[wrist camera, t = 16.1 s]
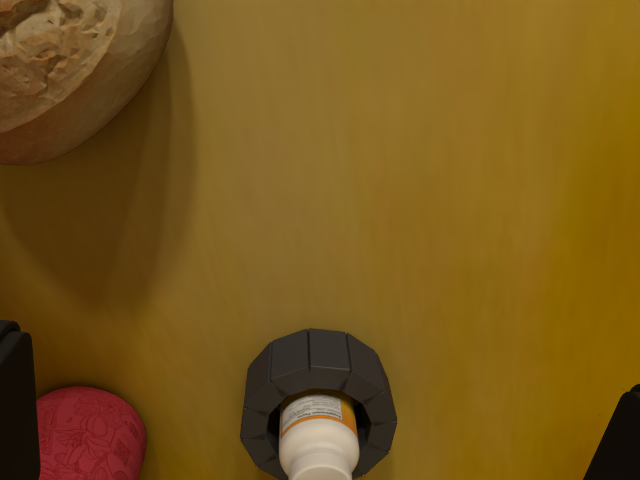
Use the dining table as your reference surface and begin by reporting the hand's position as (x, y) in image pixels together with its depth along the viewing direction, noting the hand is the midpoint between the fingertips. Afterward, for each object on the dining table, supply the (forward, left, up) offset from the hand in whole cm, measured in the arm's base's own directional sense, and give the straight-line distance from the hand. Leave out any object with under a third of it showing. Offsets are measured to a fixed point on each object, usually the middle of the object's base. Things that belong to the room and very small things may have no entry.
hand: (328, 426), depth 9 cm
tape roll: (+4, -22, -28) cm, 36 cm away
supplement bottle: (+4, -22, -28) cm, 36 cm away
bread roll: (-14, +1, -28) cm, 32 cm away
